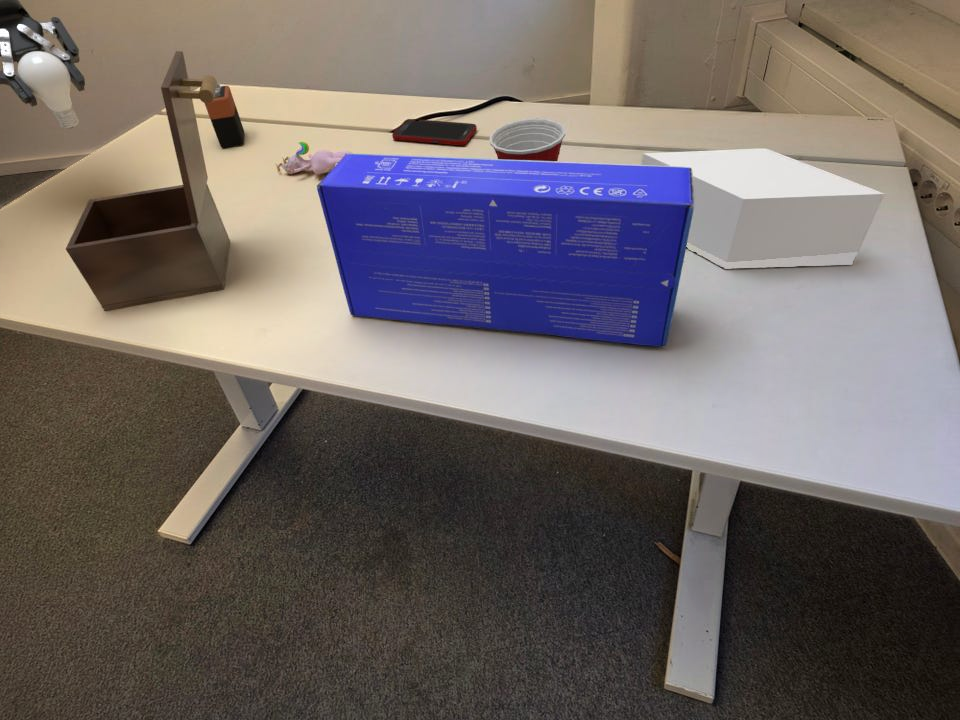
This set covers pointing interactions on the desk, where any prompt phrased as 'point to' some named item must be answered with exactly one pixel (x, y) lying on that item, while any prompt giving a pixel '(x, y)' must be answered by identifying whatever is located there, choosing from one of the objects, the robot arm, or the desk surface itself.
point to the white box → (771, 205)
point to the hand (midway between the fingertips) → (58, 94)
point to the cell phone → (435, 132)
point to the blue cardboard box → (511, 243)
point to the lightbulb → (49, 84)
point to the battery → (225, 118)
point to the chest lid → (187, 128)
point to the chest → (149, 247)
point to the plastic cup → (528, 140)
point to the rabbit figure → (312, 161)
